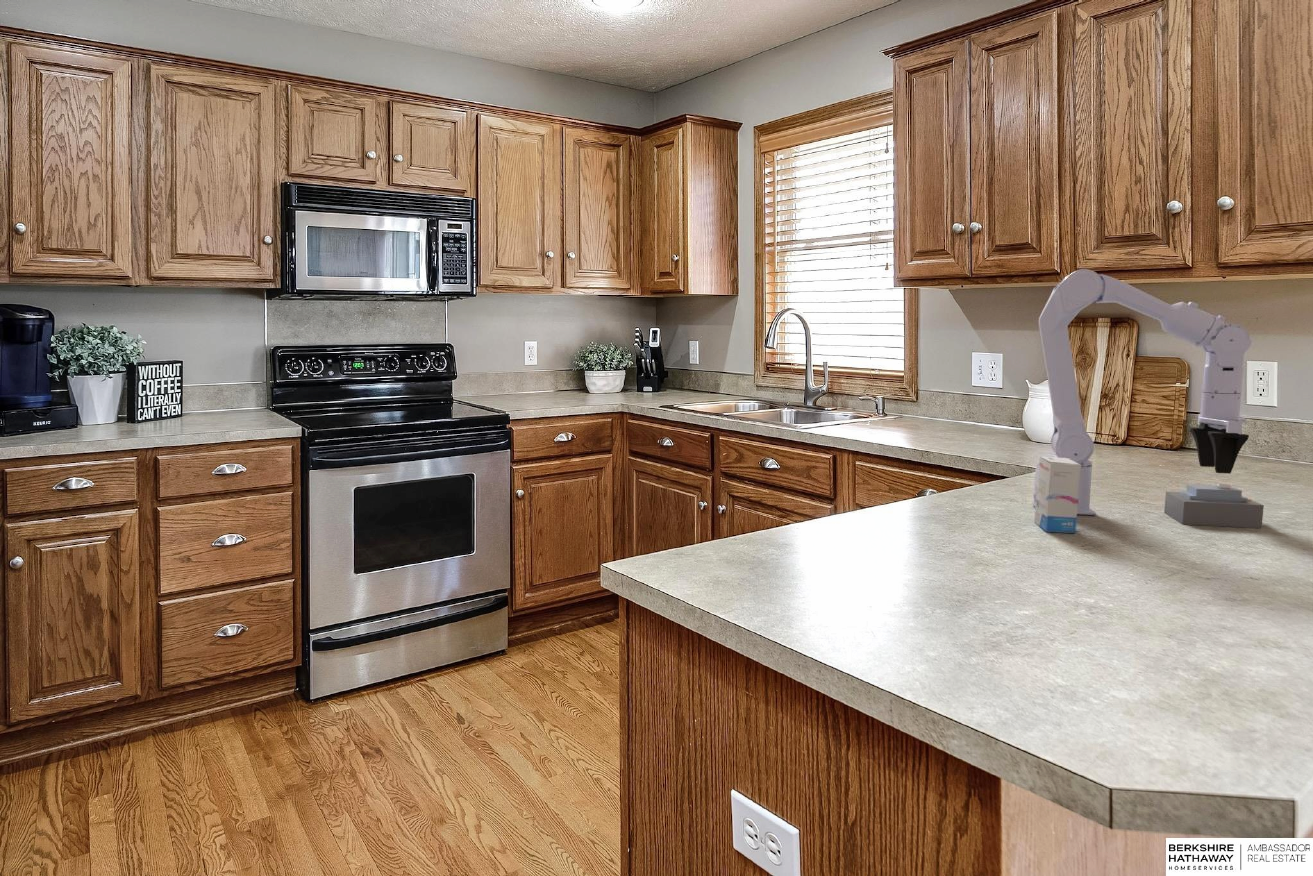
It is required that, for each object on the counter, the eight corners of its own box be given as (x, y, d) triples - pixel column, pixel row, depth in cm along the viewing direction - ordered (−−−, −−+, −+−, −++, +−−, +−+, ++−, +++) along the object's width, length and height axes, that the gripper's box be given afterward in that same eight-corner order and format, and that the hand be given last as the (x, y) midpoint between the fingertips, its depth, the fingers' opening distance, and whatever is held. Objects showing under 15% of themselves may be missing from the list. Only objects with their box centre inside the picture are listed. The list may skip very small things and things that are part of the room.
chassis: (1182, 524, 147) (1184, 500, 147) (1164, 512, 157) (1165, 490, 156) (1261, 528, 144) (1263, 504, 144) (1238, 516, 154) (1240, 493, 153)
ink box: (1077, 534, 140) (1082, 463, 138) (1045, 532, 141) (1049, 462, 139) (1063, 523, 148) (1068, 456, 147) (1033, 521, 149) (1037, 455, 148)
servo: (1187, 522, 149) (1190, 485, 149) (1178, 516, 154) (1181, 481, 153) (1245, 524, 147) (1248, 487, 147) (1234, 519, 152) (1237, 483, 151)
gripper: (1265, 396, 140) (1258, 477, 141) (1231, 390, 154) (1224, 464, 155) (1217, 395, 142) (1210, 475, 143) (1187, 389, 156) (1181, 463, 157)
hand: (1214, 469), depth 149 cm, fingers open, 7 cm apart
